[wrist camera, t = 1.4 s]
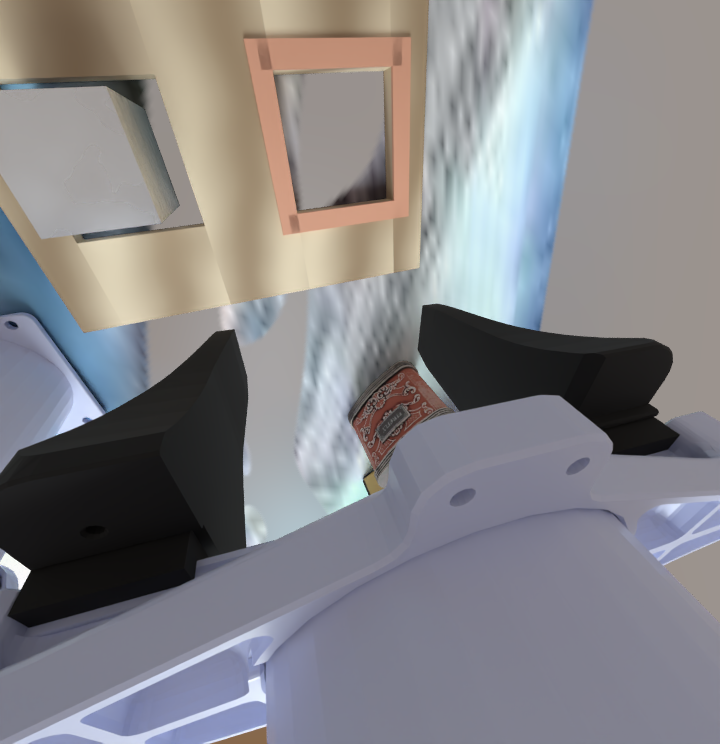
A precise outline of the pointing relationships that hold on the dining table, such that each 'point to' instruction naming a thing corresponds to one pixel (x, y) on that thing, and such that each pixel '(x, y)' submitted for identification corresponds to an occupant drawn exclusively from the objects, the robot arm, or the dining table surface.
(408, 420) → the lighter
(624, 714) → the robot arm
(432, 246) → the dining table surface
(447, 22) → the dining table surface
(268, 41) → the rail
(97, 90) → the steel peg
